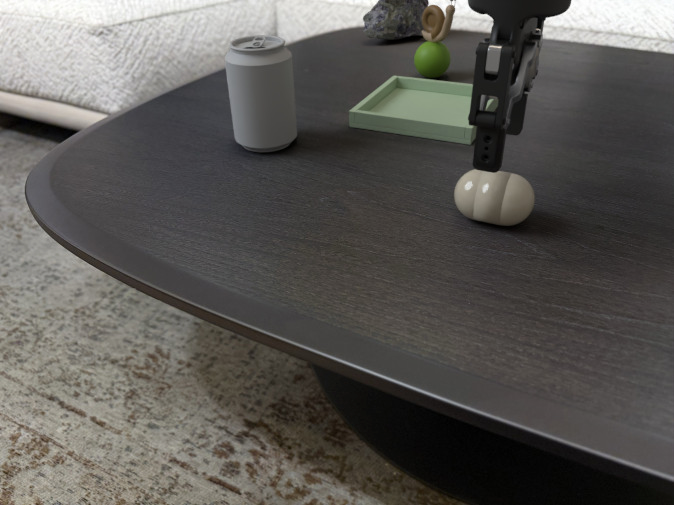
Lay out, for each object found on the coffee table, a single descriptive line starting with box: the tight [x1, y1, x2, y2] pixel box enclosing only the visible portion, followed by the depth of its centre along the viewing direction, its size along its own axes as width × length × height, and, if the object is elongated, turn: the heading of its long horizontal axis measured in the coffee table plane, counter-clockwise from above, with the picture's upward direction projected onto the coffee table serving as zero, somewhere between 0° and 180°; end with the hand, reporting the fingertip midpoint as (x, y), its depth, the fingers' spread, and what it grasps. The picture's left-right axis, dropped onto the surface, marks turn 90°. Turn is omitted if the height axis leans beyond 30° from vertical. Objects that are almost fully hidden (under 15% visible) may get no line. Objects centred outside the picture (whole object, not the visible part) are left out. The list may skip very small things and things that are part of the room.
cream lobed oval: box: [453, 168, 536, 227], centre depth 55 cm, size 7×5×5 cm, turn 65°
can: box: [224, 34, 298, 153], centre depth 69 cm, size 8×8×12 cm
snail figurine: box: [413, 0, 457, 79], centre depth 88 cm, size 5×6×12 cm
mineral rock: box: [362, 0, 430, 41], centre depth 110 cm, size 13×11×10 cm
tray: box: [348, 74, 498, 146], centre depth 78 cm, size 16×16×2 cm
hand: (498, 150), depth 52 cm, fingers open, 8 cm apart
